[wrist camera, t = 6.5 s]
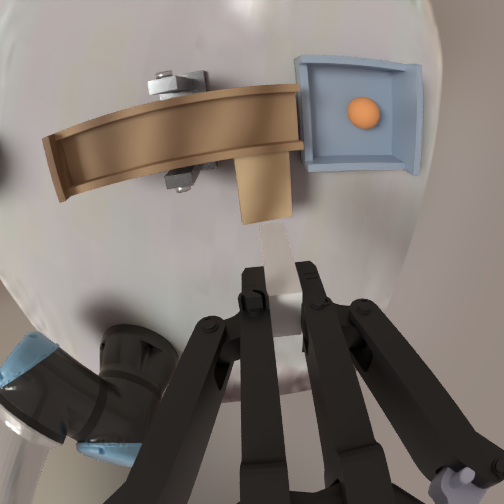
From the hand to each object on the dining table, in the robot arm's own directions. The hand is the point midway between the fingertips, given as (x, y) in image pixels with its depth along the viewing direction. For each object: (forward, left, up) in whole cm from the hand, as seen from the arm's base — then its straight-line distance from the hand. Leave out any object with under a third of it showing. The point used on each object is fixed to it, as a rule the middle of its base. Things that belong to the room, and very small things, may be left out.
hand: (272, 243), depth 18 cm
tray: (+11, +7, -16) cm, 20 cm away
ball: (+11, +7, -14) cm, 19 cm away
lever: (-7, +3, -9) cm, 12 cm away
